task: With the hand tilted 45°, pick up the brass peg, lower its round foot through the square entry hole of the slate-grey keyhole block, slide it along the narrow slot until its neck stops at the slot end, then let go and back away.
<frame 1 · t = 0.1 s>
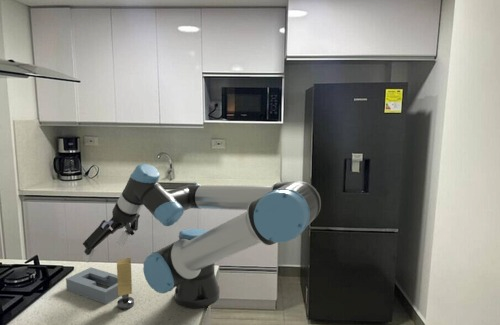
hand: (103, 251, 112), 15 cm above the countertop, tool tilted 35°, fingers open, 13 cm apart
keyhole block: (97, 289, 116), on the countertop
peg: (125, 305, 107), on the countertop
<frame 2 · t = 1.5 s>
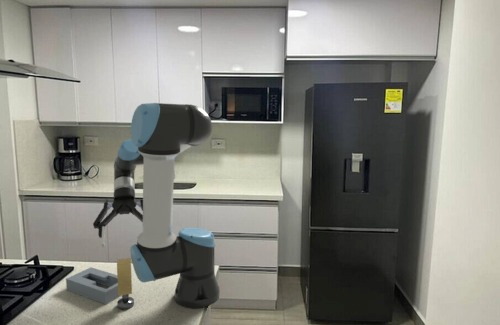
hand: (124, 243, 114), 17 cm above the countertop, tool tilted 45°, fingers open, 13 cm apart
nothing on the countertop moved.
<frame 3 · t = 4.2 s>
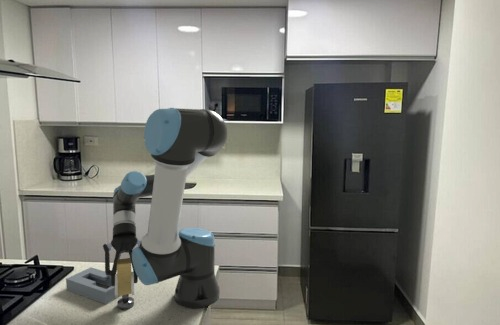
hand: (124, 294, 102), 6 cm above the countertop, tool tilted 45°, fingers closed on peg, 4 cm apart
peg: (125, 305, 107), on the countertop, touching gripper
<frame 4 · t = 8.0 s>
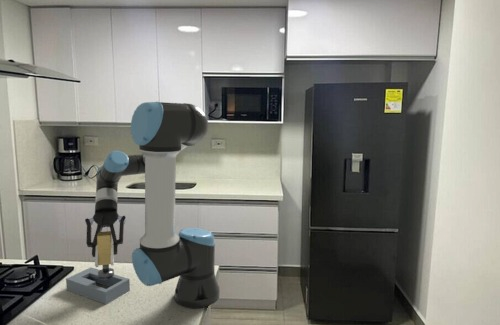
hand: (104, 264, 109), 12 cm above the countertop, tool tilted 45°, fingers closed on peg, 4 cm apart
peg: (106, 275, 113), point 6 cm above the countertop, touching gripper
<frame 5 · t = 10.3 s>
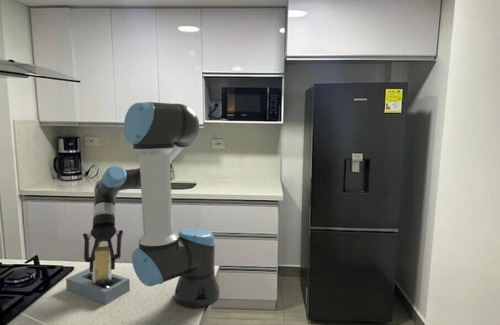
hand: (101, 279, 110), 6 cm above the countertop, tool tilted 45°, fingers closed on peg, 4 cm apart
peg: (103, 290, 115), point 1 cm above the countertop, touching gripper
when the fingers open (6 cm above the countertop, at t = 12.1 s): peg stays where it is, resting in keyhole block.
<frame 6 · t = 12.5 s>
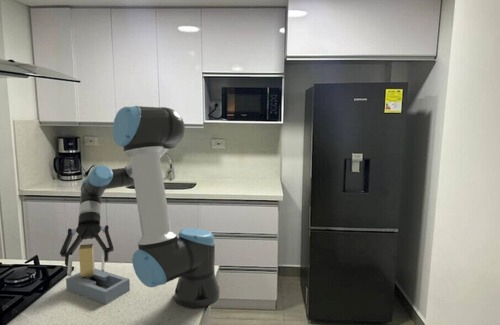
hand: (86, 272, 114), 7 cm above the countertop, tool tilted 45°, fingers open, 10 cm apart
peg: (88, 286, 118), resting in keyhole block
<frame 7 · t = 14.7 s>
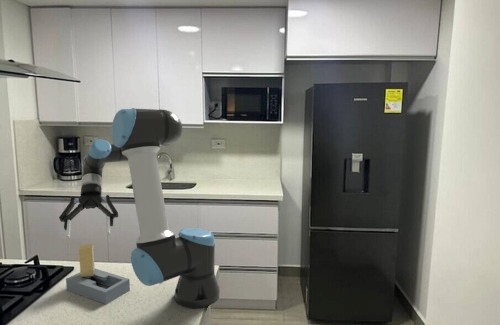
hand: (88, 235, 122), 17 cm above the countertop, tool tilted 45°, fingers open, 13 cm apart
nothing on the countertop moved.
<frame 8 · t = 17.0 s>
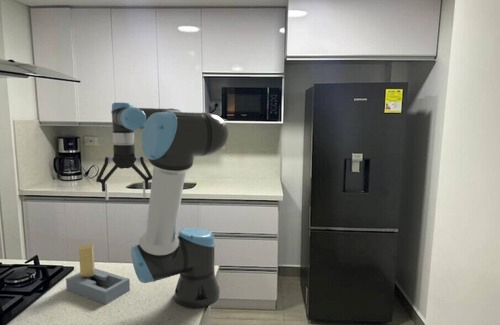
hand: (126, 198, 128), 29 cm above the countertop, tool pointing down, fingers open, 13 cm apart
nothing on the countertop moved.
at the end: peg 0.2 cm from the target spot on the keyhole block, point 0.0 cm above the keyhole block's base; peg tilted 0°; the gripper is holding nothing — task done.
